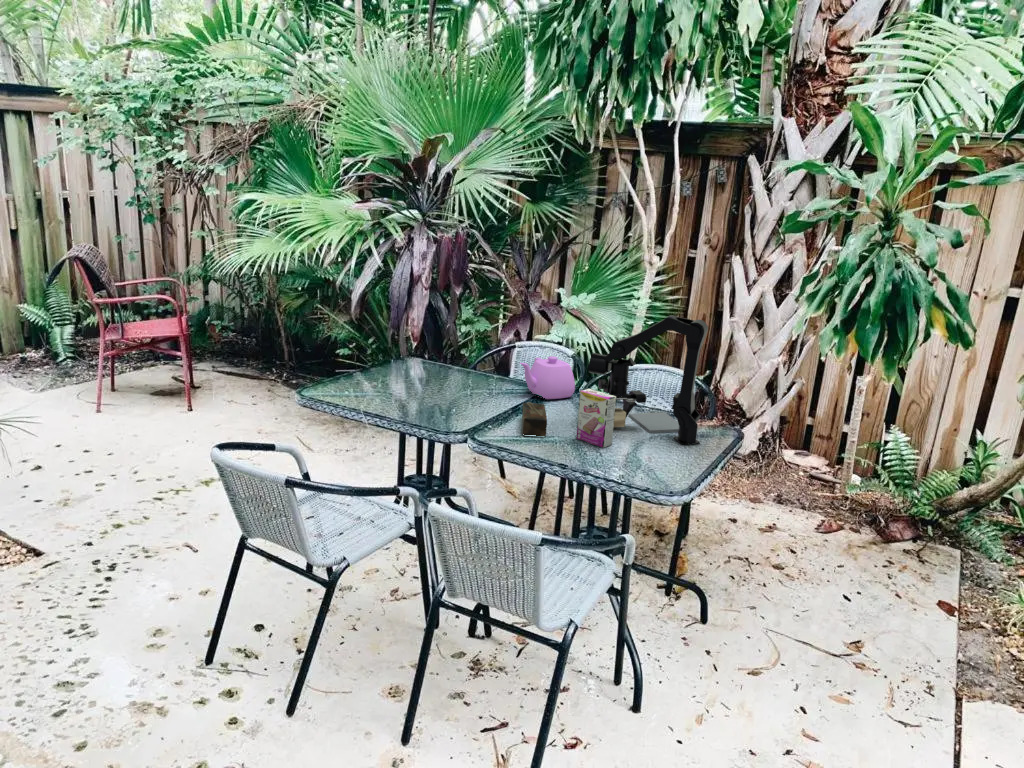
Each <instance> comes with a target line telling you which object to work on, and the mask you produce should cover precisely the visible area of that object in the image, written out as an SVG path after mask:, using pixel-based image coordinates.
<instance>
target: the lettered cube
mask: <svg viewBox="0 0 1024 768" xmlns="http://www.w3.org/2000/svg"><path fill="white" fill-rule="evenodd" d="M626 419H627V417H626V412H625V411H624V410H623V408H621V407H615V417H614V427H613V428H625V426H626Z"/></svg>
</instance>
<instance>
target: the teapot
mask: <svg viewBox="0 0 1024 768" xmlns="http://www.w3.org/2000/svg"><path fill="white" fill-rule="evenodd" d="M519 365H521V366H522V367H523V369H524V370H523V371H524V380H525V382H526V384H527V385H526V386H527V387H528V390H529V392H530V391H531V392H532V393H531V392H530V393H531V394H533V393H534V394H538V395H541V396H542V397H543V399H544V398H545V399H544V400H556V399H565V398H570V397H572V396H573V394H574V392H575V390H576V382H575V377H574V373H573V370H572V367H571V365H570V364H569V363H568V362H566V361H564V360H561V359H558V357H557V356H556V355H555V356H553V355H551V356H547V358H541V357H536V358H534V363H533V364H532V365H531V367H530V365H529V364H528V363H526V362H519ZM534 394H533V395H534ZM542 397H541V398H542Z"/></svg>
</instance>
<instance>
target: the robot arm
mask: <svg viewBox="0 0 1024 768" xmlns="http://www.w3.org/2000/svg"><path fill="white" fill-rule="evenodd" d="M670 330H671V331H672V332H673V331H674V332H675V333H678V334H680V335H683V336H685V345H686V354H685V360H684V367H683V372H682V373H683V374H682V379H681V385H680V391H679V392H677V393H676V394H675V395H674V396H673V397H672V407H671V410H672V414H673V416H674V417H675V418H676V421H678V424H679V431H678V432H677V436H673V439H674V440H675V441H676V442H677V443H679V444H680V445H700V444H701V442H700V441H699V440H698V439H697V434H698V423H697V422H699V420H700V418H701V414H700V413H699V412H698V411H697V410H696V408H695V407H696V406H695V404H696V403H695V402H696V401H695V399H696V398H695V394H694V393H695V392H694V389H695V384H696V378H697V372H698V365H699V361H700V353H701V348H702V347H703V345H704V341H705V339H706V337H707V334H708V331H709V326H708V324H707V323H706V321H704V320H702V319H695V320H693V319H689V318H685V317H680V316H676V315H672V314H670V315H668V316H667V317H665V318H664V319H662V320H660V321H658V322H657V323H655V324H653V325H651V326H649V327H647V328H646V329H644V330H642V331H640V332H638V333H637V334H634V335H629V336H627V337H622V338H621V339H618V340H617V341H615V342H614V343H613V344H612V345H611V348H610V351H609V352H608V353H607V354H602V353H597V352H592V353H591V354H590V355H591V356H590V358H589V362H588V364H587V371H588V373H590V374H596V375H600V376H601V375H603V376H606V375H607V374H608V373H610V377H609V378H608V380H607V381H606V379H599V380H598V383H597V385H598V390H602V391H603V392H602V393H606V394H609V395H613V396H616V401H622V405H623V406H622V410H624V411H625V412H626V418H627V417H629V414H630V413H631V411H632V409H634V407H635V406H637V405H638V404H640V403H641V404H643V403H644V404H645V403H647V395H646V394H645V393H644V392H642V391H641V390H629V392H628V391H627V390H628V386H629V385H630V382H629V371H630V367H634V365H636V363H637V362H635V361H634V360H633V358H632V357H628V359H626V357H627V356H628V355H630V354H631V353H633V352H634V351H636V349H637V348H638V347H639V348H640V346H642V345H643V344H645V343H647V342H649V341H650V340H653V339H655V338H656V337H658V336H661V334H665V333H666V332H668V331H670ZM615 359H617V360H615ZM637 403H638V404H637Z"/></svg>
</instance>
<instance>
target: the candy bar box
mask: <svg viewBox="0 0 1024 768" xmlns="http://www.w3.org/2000/svg"><path fill="white" fill-rule="evenodd" d="M578 398H579V399H578V413H577V426H576V436H575V437H576V438H575V439H577V440H579V441H582V442H584V441H585V443H587V442H588V444H590V443H591V444H590V445H594V446H596V447H599V448H602V447H603V448H602V449H605V448H608V447H610V446H612V445H613V437H614V436H613V435H614V428H615V427H614V417H615V408H616V404H617V400H616V396H613V395H609V393H607V392H602V391H599V390H596V389H592V388H585V389H581V390H579V397H578ZM607 446H608V447H607ZM604 447H605V448H604Z"/></svg>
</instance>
